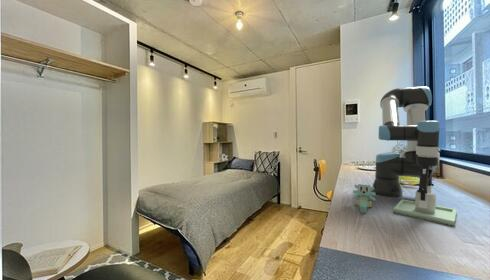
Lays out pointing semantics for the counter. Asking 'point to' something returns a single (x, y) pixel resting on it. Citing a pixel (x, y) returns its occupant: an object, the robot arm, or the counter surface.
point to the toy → (364, 196)
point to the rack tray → (440, 215)
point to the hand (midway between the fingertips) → (425, 203)
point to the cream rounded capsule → (430, 203)
